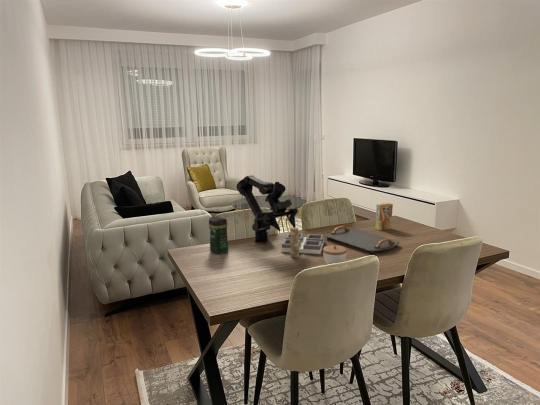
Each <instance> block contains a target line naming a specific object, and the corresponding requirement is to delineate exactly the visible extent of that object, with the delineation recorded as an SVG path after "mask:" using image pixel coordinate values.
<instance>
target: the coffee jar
mask: <svg viewBox="0 0 540 405" xmlns="http://www.w3.org/2000/svg"><path fill="white" fill-rule="evenodd" d="M208 227H209V251H210V252H211V253H212V254H214V255H225V254H227V253H228V252H229V243H228V242H229V241H228V220H227V219H226V218H223V217H221V216H218V215H215V216H210V217H209V219H208Z"/></svg>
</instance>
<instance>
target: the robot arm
mask: <svg viewBox="0 0 540 405" xmlns="http://www.w3.org/2000/svg"><path fill="white" fill-rule="evenodd" d="M235 186H236V188H235V189H236V190H237V191H238V193H239V194H240V195H242V196H243V197H244V198H245V200H246V202H247V204H248V207H249V209H250V210H251V212H252V213H253V216H254V219H253V222H254V223H253V224H252V226H251V227H252V228H251V229H252V231H253V232H254V235H255V237H254V238H255V239H254V242H255V243H267V242H268V241H269V231H268V230H270V229H271V227H273V228H274V229H276V230H277V231H278V232H280V231H281V227H280V226H279V223H278V221H277V218H281V217H286V218H287V220H288V222H289V223H290V224H291V226H292V228H297V227H296V216H297V214H298V213H299V210H298V208H297V207H292V208H290V207H291V206H292V205H293V204H292V201H291V198H289V199H286V200H285V201H281V200H280V199H281V197H283V196H282V195H283V194H284V193H285V192H286V190H287V189H286V188H287V187H286V186H285V185H283V183H280V182H279V181H275V182H274V183H273V182H271V181H264V180H261V179H259V178H257V177H256V176H255V175H253V174H252V175H246V176H245V177H244V178H242V179H241V180H239V181H238V182H237V183H236V185H235ZM253 188H256V189H258V192H259V193H260V194H261V195H264V196H265V199H264V203H265V202H266V203H268V205H269V207H270V208H269V210H270V212H269V211H268V212H267V211H266V212H263V211H262V208H261V207H260V205H259V203H258V201H257V199H256V197H255V195H254V193H253ZM266 195H267V196H266ZM288 208H289V209H288Z"/></svg>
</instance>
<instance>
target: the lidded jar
mask: <svg viewBox="0 0 540 405" xmlns="http://www.w3.org/2000/svg"><path fill="white" fill-rule="evenodd" d="M322 251H323V253H322V254H323V259H324V261H325V263H326V264H327V265H328V264H332V263H338V262H343V261H344V262H345V261H346V258H347V248H346V247H344V246H342V245H336V244H335V245H334V244H333V245H332V244H331V245H326V246H323V247H322Z"/></svg>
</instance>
